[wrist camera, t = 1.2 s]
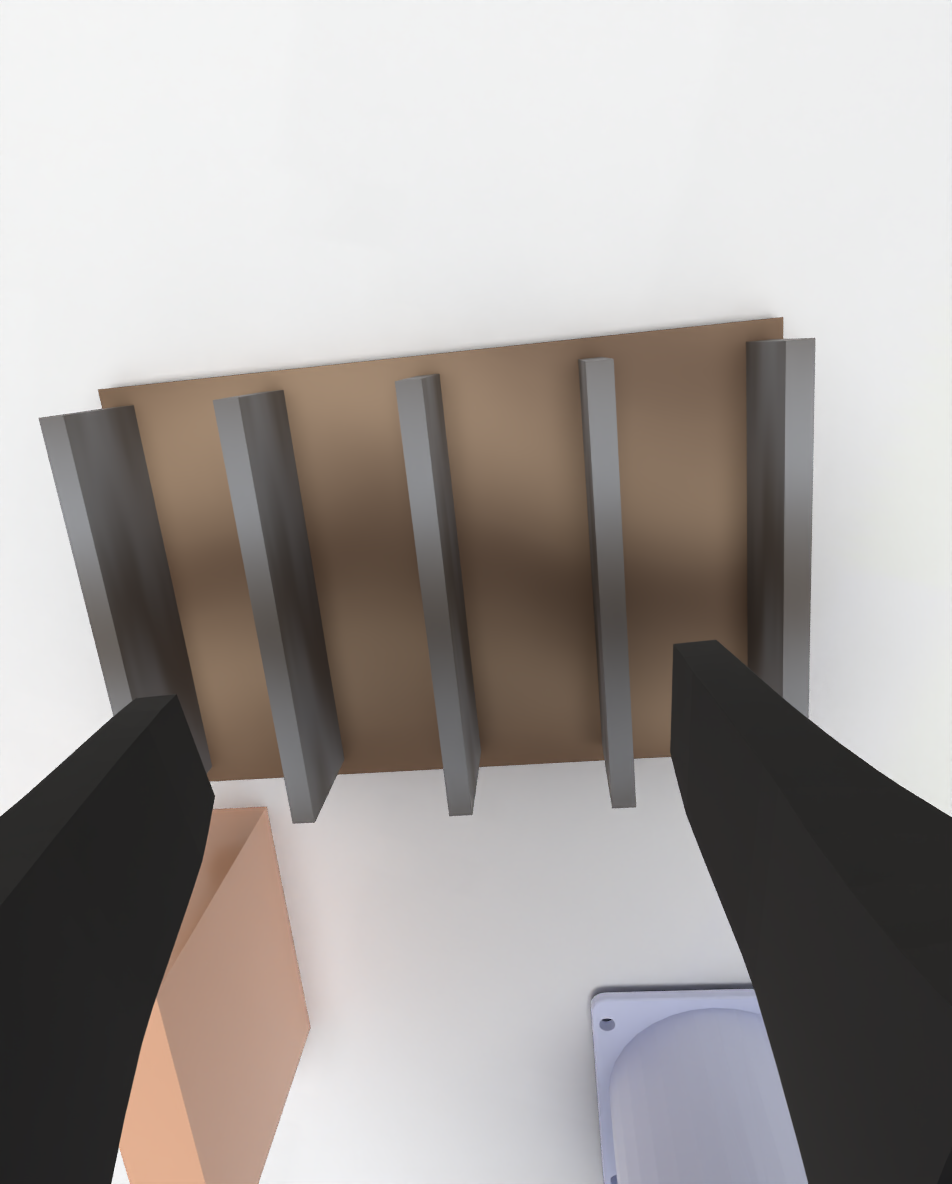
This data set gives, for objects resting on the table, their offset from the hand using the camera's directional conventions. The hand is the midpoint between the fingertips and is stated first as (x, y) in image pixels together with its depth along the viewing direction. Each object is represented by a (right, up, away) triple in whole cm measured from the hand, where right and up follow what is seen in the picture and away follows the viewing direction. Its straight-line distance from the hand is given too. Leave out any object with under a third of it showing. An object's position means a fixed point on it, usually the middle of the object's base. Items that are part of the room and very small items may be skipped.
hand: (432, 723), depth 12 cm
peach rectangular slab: (-7, -9, +16) cm, 20 cm away
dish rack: (0, +3, +12) cm, 12 cm away
